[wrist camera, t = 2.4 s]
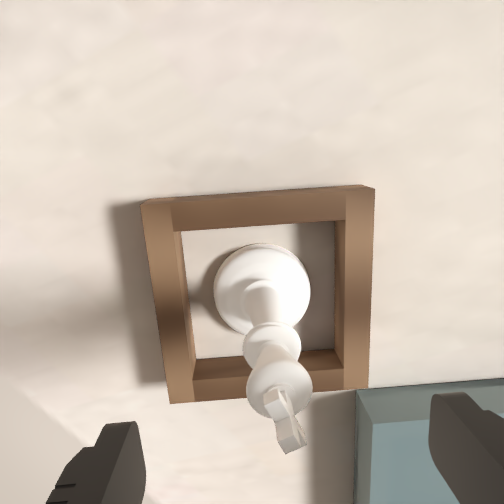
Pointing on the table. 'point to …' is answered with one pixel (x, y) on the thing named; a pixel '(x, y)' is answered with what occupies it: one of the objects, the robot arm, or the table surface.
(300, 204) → the collar
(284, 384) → the chess piece
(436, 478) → the tray
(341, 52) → the table surface
